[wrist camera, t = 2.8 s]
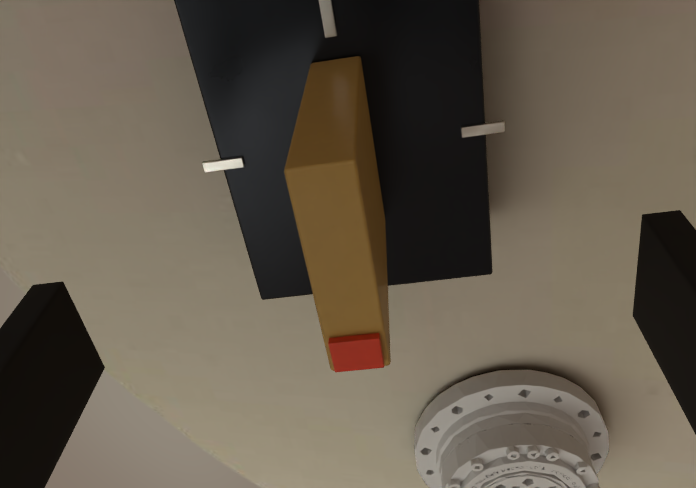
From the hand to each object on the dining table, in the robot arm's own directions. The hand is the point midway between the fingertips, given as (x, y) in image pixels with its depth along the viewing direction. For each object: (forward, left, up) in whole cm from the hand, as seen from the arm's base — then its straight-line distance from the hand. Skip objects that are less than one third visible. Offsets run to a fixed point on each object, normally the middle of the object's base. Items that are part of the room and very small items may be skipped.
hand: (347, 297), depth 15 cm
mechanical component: (+17, -11, -12) cm, 24 cm away
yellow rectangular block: (0, 0, -8) cm, 8 cm away
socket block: (0, 0, -12) cm, 12 cm away
